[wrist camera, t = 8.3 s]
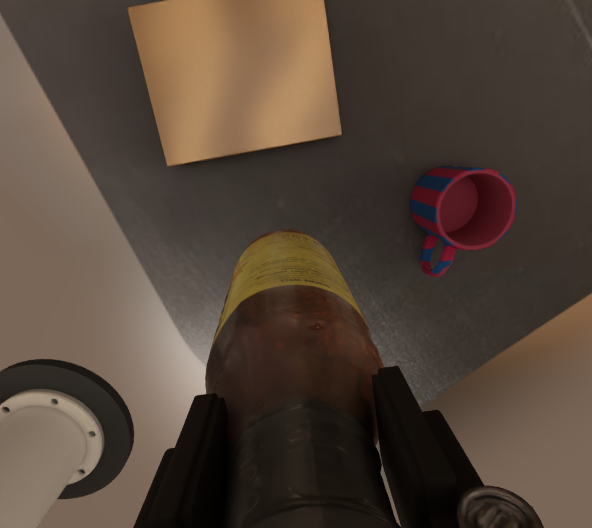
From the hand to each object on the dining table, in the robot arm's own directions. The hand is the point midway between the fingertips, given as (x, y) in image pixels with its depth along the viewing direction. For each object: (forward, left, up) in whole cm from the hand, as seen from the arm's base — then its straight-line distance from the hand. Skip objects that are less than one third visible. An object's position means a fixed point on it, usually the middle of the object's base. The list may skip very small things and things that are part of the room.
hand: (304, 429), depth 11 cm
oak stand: (-2, +14, -29) cm, 33 cm away
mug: (+14, -1, -29) cm, 33 cm away
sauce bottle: (0, 0, -15) cm, 15 cm away
